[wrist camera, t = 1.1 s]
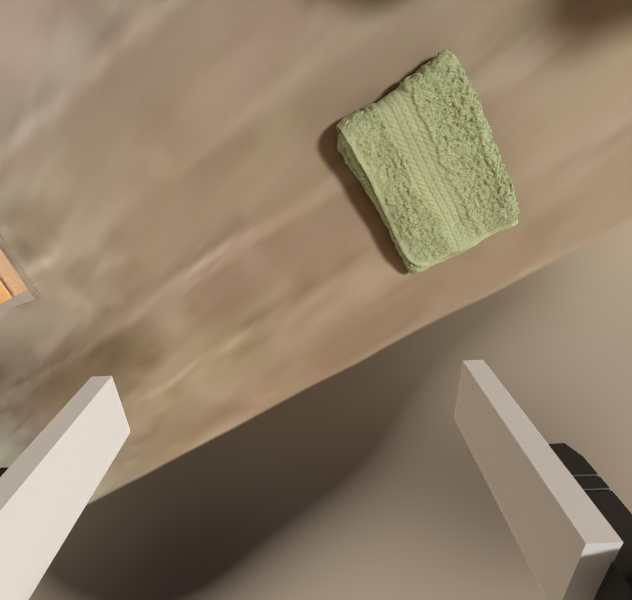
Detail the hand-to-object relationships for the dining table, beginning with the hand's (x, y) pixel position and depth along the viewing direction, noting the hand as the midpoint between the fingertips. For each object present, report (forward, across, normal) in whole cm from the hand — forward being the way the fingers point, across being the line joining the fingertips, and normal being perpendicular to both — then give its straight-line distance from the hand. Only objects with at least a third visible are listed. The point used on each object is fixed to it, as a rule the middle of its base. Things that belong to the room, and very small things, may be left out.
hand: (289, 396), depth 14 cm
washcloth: (+27, +13, +5) cm, 31 cm away
